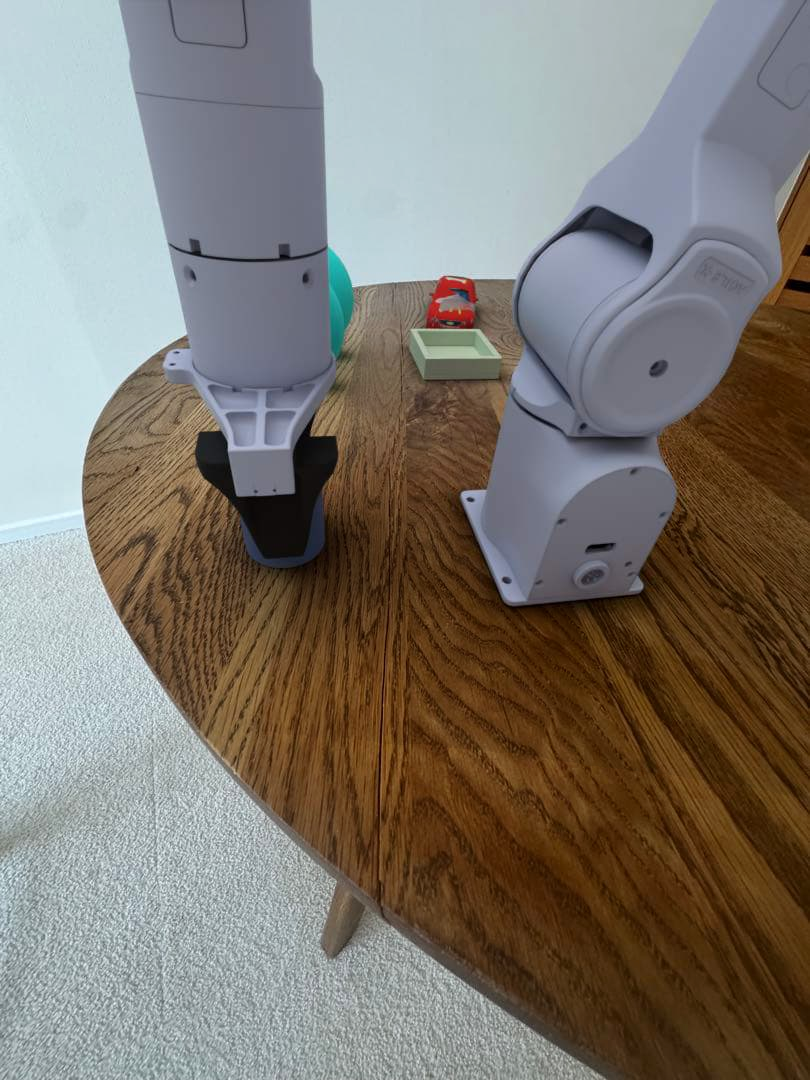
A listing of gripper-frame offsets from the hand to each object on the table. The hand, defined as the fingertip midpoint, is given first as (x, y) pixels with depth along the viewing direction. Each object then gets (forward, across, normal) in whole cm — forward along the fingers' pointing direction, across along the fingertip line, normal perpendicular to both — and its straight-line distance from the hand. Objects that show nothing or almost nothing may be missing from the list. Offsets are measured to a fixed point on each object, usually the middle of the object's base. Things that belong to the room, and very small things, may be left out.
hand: (283, 521), depth 28 cm
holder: (+1, -24, +16) cm, 29 cm away
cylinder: (+1, 0, 0) cm, 1 cm away
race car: (+2, -36, +19) cm, 41 cm away
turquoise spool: (+2, -24, +1) cm, 24 cm away
